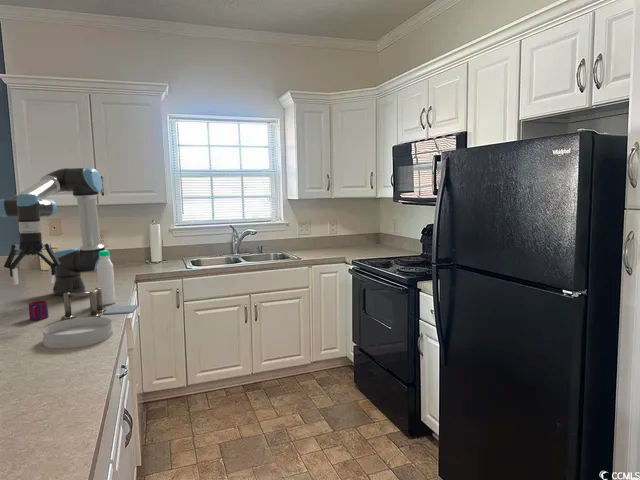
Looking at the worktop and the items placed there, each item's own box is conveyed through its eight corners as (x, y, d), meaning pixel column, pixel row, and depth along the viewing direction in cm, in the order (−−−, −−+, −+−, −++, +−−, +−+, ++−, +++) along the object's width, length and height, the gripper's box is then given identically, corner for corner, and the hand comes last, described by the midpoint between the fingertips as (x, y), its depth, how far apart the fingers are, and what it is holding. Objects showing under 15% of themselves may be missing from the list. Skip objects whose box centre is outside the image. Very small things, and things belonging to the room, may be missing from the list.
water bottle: (99, 302, 216) (96, 250, 214) (116, 301, 219) (112, 249, 216) (98, 305, 210) (94, 252, 207) (115, 304, 212) (111, 251, 209)
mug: (51, 315, 194) (50, 300, 193) (40, 322, 184) (39, 306, 183) (34, 316, 193) (33, 300, 192) (22, 323, 183) (21, 306, 182)
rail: (71, 311, 200) (69, 288, 199) (107, 309, 202) (106, 286, 201) (59, 319, 187) (57, 294, 186) (98, 317, 190) (96, 293, 189)
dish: (35, 339, 163) (34, 325, 163) (100, 325, 179) (99, 313, 178) (53, 354, 147) (52, 339, 147) (122, 338, 163) (121, 324, 162)
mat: (110, 307, 206) (110, 306, 206) (138, 306, 208) (138, 304, 208) (103, 314, 194) (102, 313, 194) (132, 312, 196) (132, 311, 196)
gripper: (-9, 233, 179) (-5, 286, 181) (59, 232, 183) (63, 284, 185) (1, 232, 186) (5, 283, 188) (66, 230, 190) (70, 280, 192)
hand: (34, 283), depth 186 cm, fingers open, 13 cm apart
